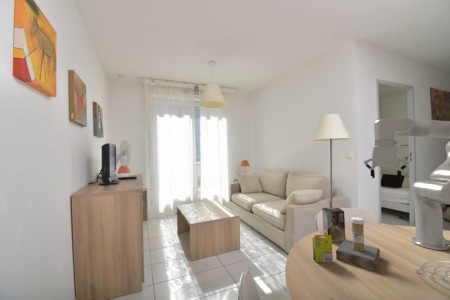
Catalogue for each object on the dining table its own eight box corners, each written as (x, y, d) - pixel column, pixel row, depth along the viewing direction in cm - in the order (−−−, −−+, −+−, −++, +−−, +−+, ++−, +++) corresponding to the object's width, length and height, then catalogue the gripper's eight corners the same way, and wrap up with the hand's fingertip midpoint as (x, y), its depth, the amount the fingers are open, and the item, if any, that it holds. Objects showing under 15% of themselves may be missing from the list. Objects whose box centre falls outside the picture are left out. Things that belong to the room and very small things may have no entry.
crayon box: (330, 259, 86) (329, 232, 86) (333, 262, 83) (332, 235, 83) (312, 258, 87) (312, 232, 87) (315, 262, 84) (314, 235, 84)
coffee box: (340, 236, 108) (339, 207, 108) (346, 242, 102) (345, 210, 102) (322, 236, 109) (321, 207, 109) (327, 241, 103) (326, 210, 103)
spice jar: (351, 249, 86) (350, 218, 86) (353, 245, 90) (352, 216, 90) (364, 252, 83) (363, 220, 83) (365, 248, 87) (364, 218, 87)
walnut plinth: (380, 257, 87) (379, 248, 87) (376, 271, 76) (376, 261, 76) (343, 247, 96) (343, 239, 96) (336, 259, 86) (336, 250, 86)
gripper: (408, 143, 94) (409, 178, 94) (364, 144, 106) (365, 176, 106) (408, 142, 89) (409, 180, 88) (362, 144, 100) (363, 178, 100)
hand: (385, 178), depth 97 cm, fingers open, 9 cm apart
